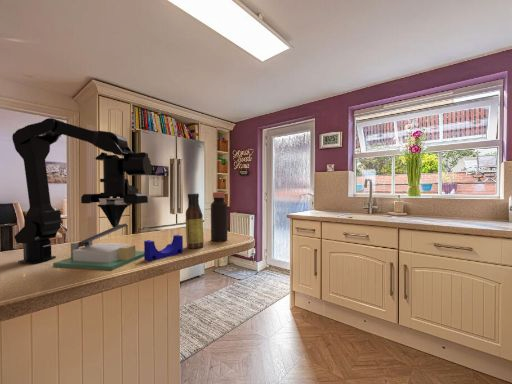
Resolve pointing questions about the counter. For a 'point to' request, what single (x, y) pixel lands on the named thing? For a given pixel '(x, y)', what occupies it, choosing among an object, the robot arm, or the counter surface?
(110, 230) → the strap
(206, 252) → the counter surface
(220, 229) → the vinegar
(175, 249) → the blue cradle block
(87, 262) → the board
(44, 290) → the counter surface
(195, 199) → the sauce bottle
